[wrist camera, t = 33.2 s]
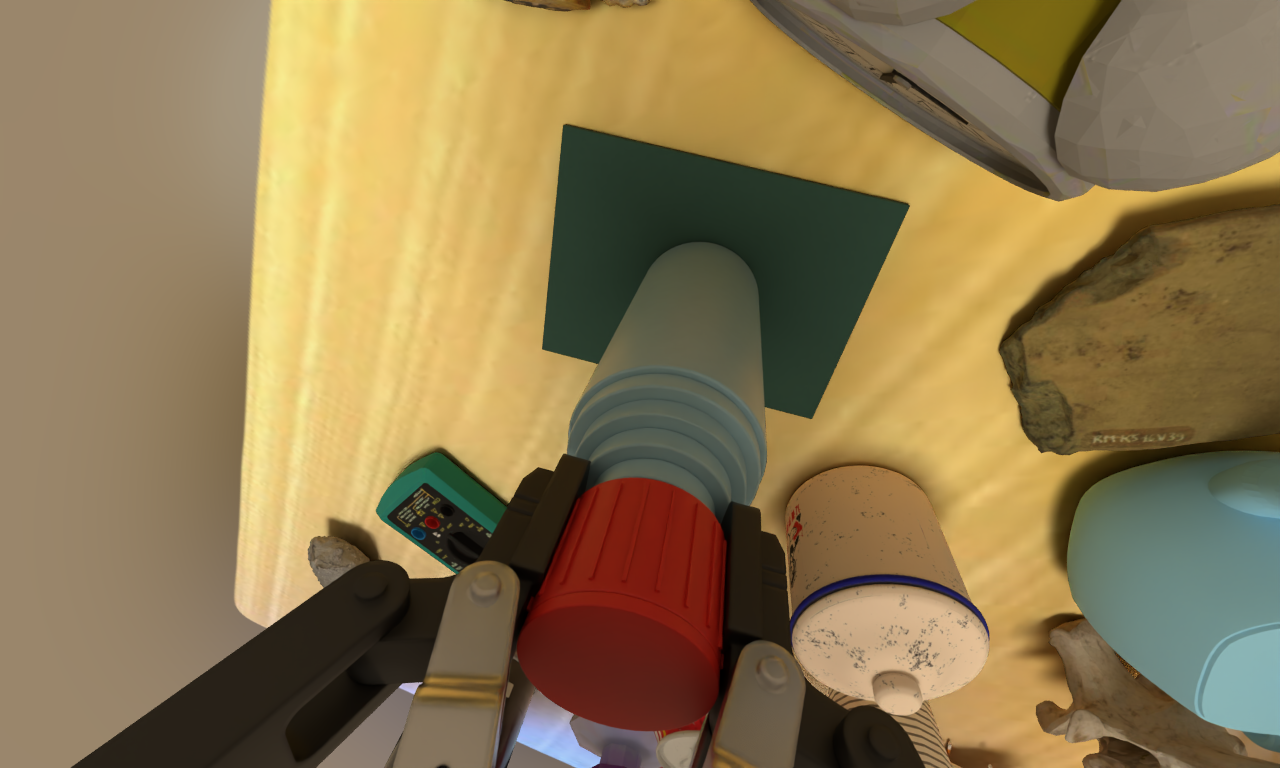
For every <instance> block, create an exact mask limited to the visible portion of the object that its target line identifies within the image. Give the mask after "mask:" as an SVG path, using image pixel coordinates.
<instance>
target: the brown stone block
mask: <svg viewBox="0 0 1280 768" xmlns="http://www.w3.org/2000/svg"><path fill="white" fill-rule="evenodd" d="M1000 354H1001V356H1002V357H1003V360H1004V363H1005V365H1006V369H1007V373H1008V374H1009V375H1010V378H1011V381H1012V383H1013V387H1012V389H1010V390H1011V391H1012V393H1013V394H1014V396H1015V398H1016V400H1017V402H1018V403H1019V405H1020V406H1021V410H1020V412H1021V413H1022V417H1023V418H1022V426H1023V430H1024V432H1025V434H1026V436H1027V437H1028V439H1029V440H1030V441H1032V443H1033V444H1034V445H1036V446H1037V447H1038V450H1039V451H1040V452H1041V453H1043V452H1047V451H1052V452H1054V453H1056V454H1059V455H1071V454H1073V453H1076V452H1079V451H1092V450H1108V451H1125V450H1143V449H1160V448H1168V447H1174V446H1180V445H1189V444H1195V443H1204V442H1214V441H1231V440H1237V439H1242V438H1249V437H1256V436H1265V435H1271V434H1278V433H1280V204H1276V205H1270V206H1266V207H1256V208H1246V209H1239V210H1232V211H1225V212H1220V213H1215V214H1211V215H1206V216H1202V217H1197V218H1193V219H1188V220H1183V221H1177V222H1171V223H1165V224H1156V225H1150V226H1147V227H1145V228H1143V229H1141V230H1139V231H1138V232H1136V233H1135V234H1134V235H1133V236H1132V237H1131V238H1130V239H1129V240H1128V242H1127V243H1125V244H1124V245H1122V246H1121V247H1120V248H1119V249H1118V250H1117V251H1116V252H1115V254H1114V255H1112V256H1109V257H1107V258H1103V259H1101V261H1100V262H1099V263H1097V264H1096V265H1095V266H1094V267H1093V268H1091V269H1089V270H1087V271H1084V272H1083V273H1082V274H1081V275H1080V276H1079V277H1078V278H1077V279H1076V280H1075V281H1074V282H1072V283H1070V284H1068V285H1067V286H1065V287H1063V289H1062V291H1060V292H1059V293H1058V294H1057V295H1056V297H1055V298H1054V299H1052V300H1051V301H1050V302H1048V303H1046V304H1044V305H1043V306H1041V307H1039V308H1038V309H1037V311H1036V312H1035V314H1034V316H1033V318H1032V319H1031V320H1030V321H1029V322H1026V323H1024V324H1023V325H1021V326H1020V327H1019V328H1018V329H1017V330H1016V331H1015V333H1014V334H1013V335H1012V336H1010V337H1009V338H1008V339H1006V340H1005V341H1004V342H1002V345H1001V348H1000Z"/></svg>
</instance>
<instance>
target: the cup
mask: <svg viewBox="0 0 1280 768" xmlns="http://www.w3.org/2000/svg"><path fill="white" fill-rule="evenodd" d="M829 698H830V699H832V700H833V701H835V702H836V703H838V704H839V705H841V706H842V707H844V708H846V709H847V710H849V711H851V710H852V709H853V708H855V707H857V706H861V705H868V706H873V707H876V708H878V709H881V708H880V707H879V706H878V704H877V703H876V701H870V700H864V699H860V698H856V697H852V696H849V695H846V694H843V693H841V692H838V691H836V690H834V689H832V688H830V687H829ZM881 710H882V711H884V710H883V709H881ZM884 712H886V711H884ZM886 713H887V714H889V715H890V716H892V717H893V718H894V719H895V720H896V721H897V722H898V723H899V724H900V725H901V726H902V727H903V728H904V730H905V731H906V733H907V734H908V735H909V737H910V739H911V741H912V742H913V744H914V746H915V748H916V750H917V752H918V754H919V756H920V758H921V760H922V761H923V763H924V765H925V767H926V768H952V765H951V762H950V760H949V757H948V754H947V752H946V749H945V746H944V743H943V741H942V738H941V735H940V733H939V730H938V727H937V725H936V722H935V719H934V716H933V714H932V711H931V708H930V706H929V703H928V700H925V701H923V703H922V706H921V708H920V709H919V710H918V711H917V712H915V713H913V714H910V715H894V714H890V713H888V712H886Z"/></svg>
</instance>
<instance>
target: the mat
mask: <svg viewBox="0 0 1280 768" xmlns="http://www.w3.org/2000/svg"><path fill="white" fill-rule="evenodd" d="M909 207H910V205H908V204H907V203H902V202H898V201H894V200H890V199H885V198H881V197H877V196H872V195H868V194H864V193H859V192H855V191H851V190H847V189H842V188H838V187H834V186H829V185H825V184H821V183H816V182H812V181H808V180H804V179H799V178H795V177H791V176H786V175H782V174H778V173H773V172H769V171H765V170H760V169H756V168H752V167H748V166H743V165H739V164H735V163H730V162H726V161H722V160H717V159H713V158H709V157H705V156H700V155H696V154H692V153H687V152H683V151H679V150H674V149H670V148H666V147H662V146H657V145H653V144H649V143H644V142H640V141H636V140H631V139H627V138H623V137H618V136H614V135H610V134H606V133H601V132H597V131H593V130H588V129H584V128H580V127H575V126H571V125H567V124H566V125H563V133H562V144H561V154H560V165H559V176H558V186H557V197H556V207H555V218H554V229H553V239H552V250H551V261H550V271H549V282H548V292H547V303H546V314H545V324H544V335H543V346H542V349H543V350H547V351H550V352H554V353H558V354H562V355H566V356H570V357H574V358H578V359H581V360H585V361H589V362H593V363H597V364H599V362H600V360H601V358H602V356H603V354H604V353H605V351H606V349H607V347H608V345H609V343H610V341H611V339H612V338H613V336H614V334H615V332H616V330H617V328H618V326H619V324H620V322H621V321H622V319H623V317H624V315H625V313H626V311H627V309H628V307H629V306H630V304H631V302H632V300H633V298H634V296H635V294H636V292H637V290H638V289H639V287H640V285H641V283H642V281H643V279H644V277H645V275H646V274H647V272H648V270H649V268H650V267H651V265H652V264H653V263H654V262H655V261H656V260H657V258H659V257H660V256H661V255H662V254H663V253H665V252H666V251H668V250H670V249H672V248H674V247H676V246H678V245H682V244H685V243H691V242H709V243H713V244H717V245H720V246H723V247H725V248H727V249H729V250H731V251H732V252H734V253H735V254H737V255H738V256H739V257H740V258H741V259H742V260H743V261H744V262H745V263H746V264H747V265H748V267H749V268H750V270H751V271H752V273H753V275H754V278H755V280H756V283H757V287H758V294H759V311H760V329H761V348H762V367H763V386H764V404H765V407H767V408H771V409H775V410H779V411H783V412H786V413H790V414H794V415H798V416H802V417H806V418H810V419H812V418H813V416H814V413H815V411H816V409H817V407H818V405H819V403H820V400H821V398H822V396H823V394H824V392H825V390H826V387H827V385H828V383H829V381H830V379H831V376H832V374H833V372H834V370H835V368H836V366H837V363H838V361H839V359H840V357H841V355H842V353H843V350H844V348H845V346H846V344H847V342H848V339H849V337H850V335H851V333H852V331H853V329H854V326H855V324H856V322H857V320H858V318H859V316H860V313H861V311H862V309H863V307H864V305H865V302H866V300H867V298H868V296H869V294H870V292H871V289H872V287H873V285H874V283H875V281H876V278H877V276H878V274H879V272H880V270H881V268H882V265H883V263H884V261H885V259H886V257H887V255H888V252H889V250H890V248H891V246H892V244H893V241H894V239H895V237H896V235H897V233H898V231H899V228H900V226H901V224H902V222H903V220H904V218H905V215H906V213H907V211H908V209H909Z"/></svg>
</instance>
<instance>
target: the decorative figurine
mask: <svg viewBox="0 0 1280 768" xmlns="http://www.w3.org/2000/svg"><path fill="white" fill-rule="evenodd" d="M505 1H510V2H512V3H515V4H521V5H526V6H531V7H538V8H544V9H548V10H555V11H571V10H574V9H582V10H588V9H590V5H591V4H590V2H591V0H505ZM602 1H604V2H605V3H606V4H608V5H609V6H613V5H615V4H618V5H620V6H622V7H631V6H632V5H633V3H634V4H637V5H647V4H648V3H649V1H650V0H602Z"/></svg>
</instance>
